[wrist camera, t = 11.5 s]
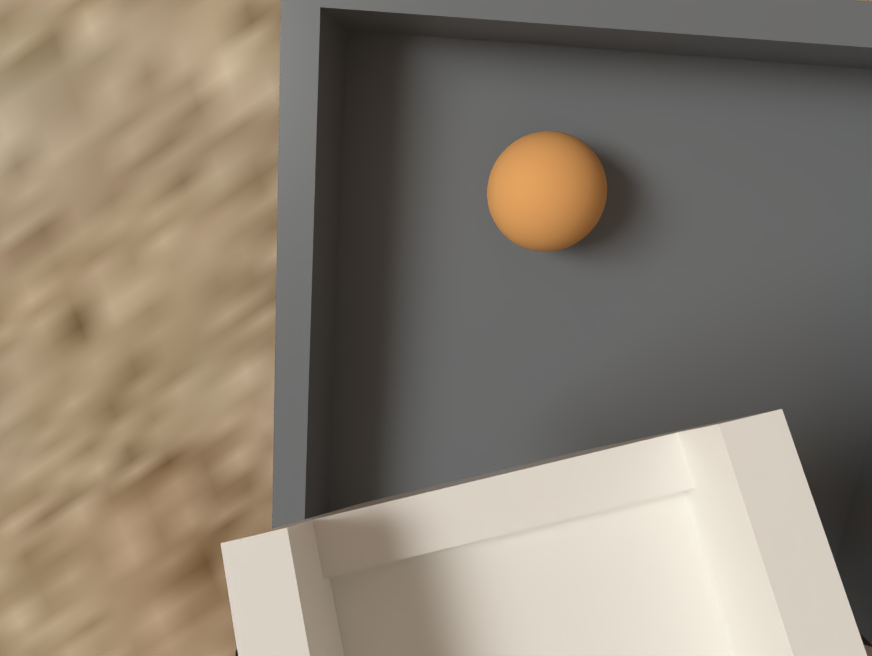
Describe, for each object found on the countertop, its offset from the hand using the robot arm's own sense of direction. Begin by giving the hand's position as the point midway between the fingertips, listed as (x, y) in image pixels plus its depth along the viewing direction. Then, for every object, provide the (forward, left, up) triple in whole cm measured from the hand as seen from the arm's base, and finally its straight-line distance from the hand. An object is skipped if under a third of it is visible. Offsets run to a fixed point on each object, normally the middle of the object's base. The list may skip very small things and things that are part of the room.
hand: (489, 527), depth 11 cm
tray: (+4, 0, -13) cm, 13 cm away
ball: (+1, +5, -10) cm, 11 cm away
